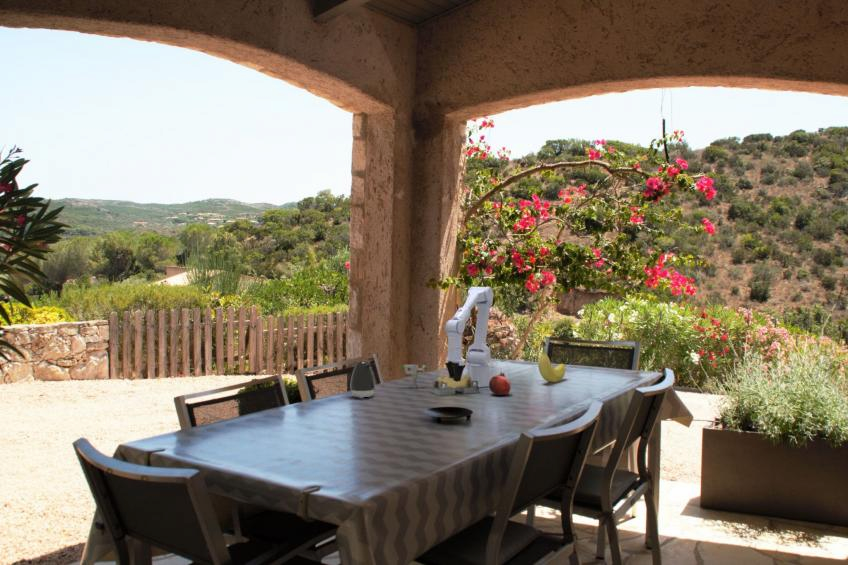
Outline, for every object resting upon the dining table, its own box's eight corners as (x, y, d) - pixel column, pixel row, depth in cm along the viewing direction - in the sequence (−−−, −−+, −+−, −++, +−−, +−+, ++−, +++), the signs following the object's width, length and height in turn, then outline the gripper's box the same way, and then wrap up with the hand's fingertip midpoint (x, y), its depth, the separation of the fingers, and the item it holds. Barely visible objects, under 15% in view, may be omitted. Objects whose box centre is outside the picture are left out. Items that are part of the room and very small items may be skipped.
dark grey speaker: (360, 400, 285) (360, 362, 285) (345, 397, 293) (345, 360, 292) (380, 397, 292) (380, 360, 291) (365, 393, 300) (365, 357, 299)
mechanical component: (426, 388, 312) (426, 365, 311) (402, 388, 312) (402, 365, 311) (426, 387, 315) (426, 364, 314) (403, 387, 315) (403, 364, 314)
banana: (558, 378, 336) (558, 336, 336) (569, 379, 333) (569, 336, 332) (535, 385, 318) (535, 340, 317) (547, 386, 315) (547, 341, 314)
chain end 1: (446, 390, 305) (446, 379, 305) (455, 394, 296) (455, 382, 296) (431, 392, 303) (431, 380, 303) (439, 396, 294) (439, 384, 294)
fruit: (486, 396, 293) (485, 372, 293) (492, 392, 302) (492, 368, 302) (507, 397, 290) (507, 373, 289) (513, 393, 298) (513, 370, 298)
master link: (468, 385, 305) (468, 374, 305) (471, 386, 302) (471, 375, 302) (438, 387, 300) (437, 376, 300) (440, 388, 298) (440, 377, 297)
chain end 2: (469, 389, 309) (469, 377, 309) (479, 393, 300) (479, 381, 300) (454, 390, 307) (454, 378, 307) (464, 394, 298) (464, 382, 298)
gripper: (439, 346, 306) (439, 378, 307) (453, 350, 293) (453, 383, 293) (454, 345, 309) (455, 377, 309) (468, 349, 295) (468, 382, 296)
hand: (455, 380), depth 301 cm, fingers open, 5 cm apart
